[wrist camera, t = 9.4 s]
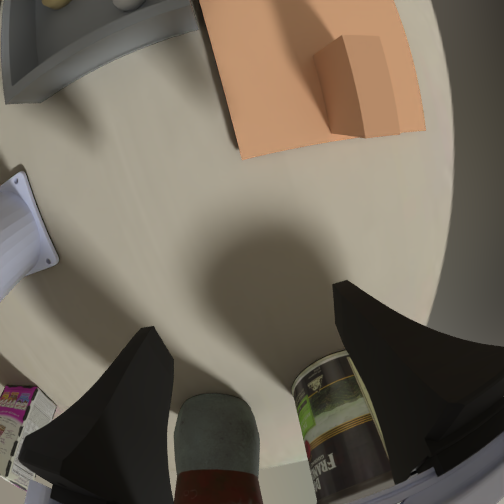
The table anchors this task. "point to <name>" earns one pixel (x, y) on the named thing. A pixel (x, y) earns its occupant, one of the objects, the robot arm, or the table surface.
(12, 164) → the table surface
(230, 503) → the bottle
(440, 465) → the robot arm
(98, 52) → the tub
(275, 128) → the lid
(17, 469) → the candy bar box
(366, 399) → the coffee can
